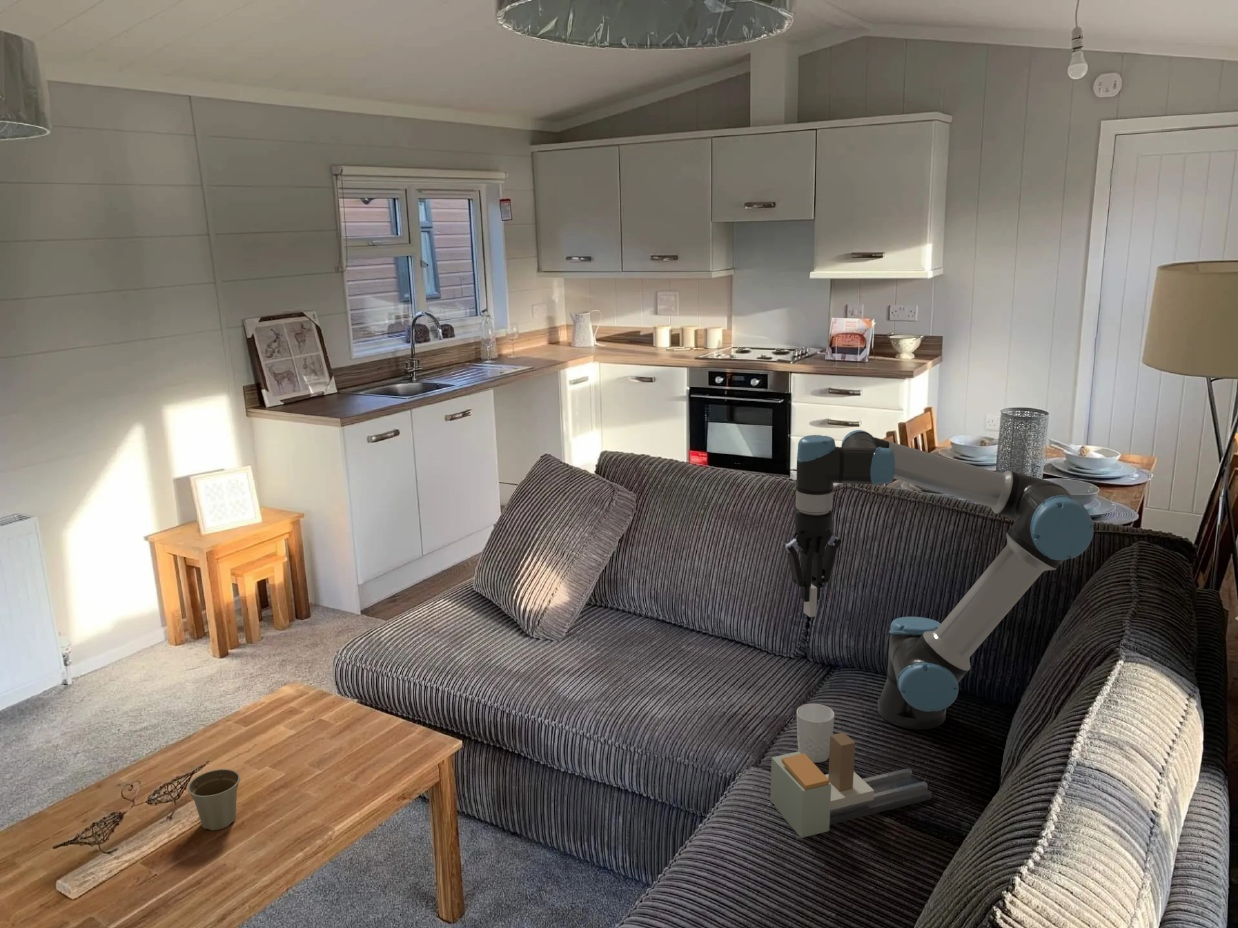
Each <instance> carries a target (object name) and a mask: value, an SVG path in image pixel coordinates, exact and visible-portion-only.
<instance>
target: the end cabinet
mask: <svg viewBox="0 0 1238 928" xmlns="http://www.w3.org/2000/svg"><path fill="white" fill-rule="evenodd" d="M799 754H801V753H800V752H799V751H798V750H797V751H795V752H790V753H785V754H781V755H776V756H772V757H771V760H770V761H771V765H770V766H771V767H770V771H771V772H770V801H771V802H772V803H773V804H774V805H775V807H776V808H777V809H778V810H777V809H776V808H775V807H774V808H775V809H776V810H777V812H778V811H779V812H780V813H781V814H782V815H781V814H780V813H779V812H778V813H779V814H780V815H781V816H782V817H783V818H784V820H785V821H786V822H787V823H788V825H789V826H790V827H791V828H792V829H793V830H794V832H795V833H796V834H797V835H798V836H799V837H800V839H803V838H806V837H810V836H811V837H812V836H814V835H817V834H823V833H826V832H829V831H830V825H829V824H830V802H831V783H830V782H829V784H826V785H822V786H818V787H814V788H809V789H805V788H804V787H803V786H802V785H801V784H800V783H799V782H798V780H797V779H796V778H795V777H794V776H793V775H792V773H791V772H790V771H789V770H788V769H787V768H786V767H785V765H784V764H783V763H782V758H785V757H790V756H794V755H799ZM771 802H770V803H771Z"/></svg>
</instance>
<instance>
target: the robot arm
mask: <svg viewBox="0 0 1238 928" xmlns="http://www.w3.org/2000/svg"><path fill="white" fill-rule="evenodd" d="M841 441H842V442H841V444H840V445H841V446H837V445H836V441H835V438H834V437H831V436H830V435H829V436H828V435H821V434H810V435H805V436H803V437H801V438H800V439H799V441H798V443H797V453H796V487H795V508H796V510H795V511H794V512H795V515H794V517H795V518H794V527H795V531H794V534H793V539H792V540H790V542H784V543H783V546H782V547H783V548H784V551H786V553H787V558H788V563H789V569H790V573H791V578H792V582H793V583H794V584H795V585H797V587H800V588H801V590H800V591H801V592H800V599H801V601H803V614H805V615H806V616H808V617H809V618H812V617H813V618H814V617H817V607H818V606H817V602H818V601H819V600H820V598H821V589H823V587H824V583H826V584H827V583H829V582H830V579H831V574H832V572H833V571H832V570H833V567H834V563H835V559H836V555H837V551H838V549H839V547H840V546H841V543H842V539H840V538H839V537H838V536H834V535H833V532H832V530H831V528H832V523H833V512H832V511H831V510H832V509H833V504H834V503H833V500H834V499H833V498H834V497H833V495H834V494H833V493H834V492H833V491H834V484H851V485H854V484H856V485H872V486H877V485H879V486H881V485H890V484H892V483H893V482H894V480H898V481H901V482H904V483H907V484H910V485H914V486H918V487H921V488H925V489H928V490H932V491H933V492H939V493H942V494H944V495H949V496H951V497H956V498H957V499H958V498H959V499H962V500H966V501H970V502H972V503H976V504H980V505H982V506H986V507H990V508H991V510H992V512H993V513H994V514H997V515H1000V516H1003V517H1006V518H1008V519H1010V520H1011V521H1014V524H1013V525H1012V526H1011V527H1010V528H1009V530H1007V531H1006V534H1005V535H1006V542H1007V543H1006V545H1005V546H1004V548H1003V549H1002V550H1001V551H1000V553H999V554H998V555H997V556H996V557H995V558H994V560H993V561H992V562H991V563H990V564H989V566H988V567H987V568H986V569H985V571H984V572H983V573H982V574H981V575H980V576H979V578H978V579H977V580H976V582H974V584H973V585H972V586H971V587H970V589H968V591H967V592H966V593H965V595H964V596H963V597H962V598H961V600H960V601H959V602H958V603H957V605H956V606H955V607H954V608H953V609H952V610H951V611H950V612H949V614H948V615H947V616H946V617H945V619H944V620H943V621H942V622H941V623H940V622H939V621H937V620H934V619H931V618H927V617H920V616H902V617H897V618H895V619H894V620H892V621H891V624H890V627H889V628H890V629H889V631H888V633H889V642H888V643H889V644H888V645H889V646H888V662H887V675H886V676H887V677H886V682H885V683H884V686H883V689H882V691H881V694H879V697H878V700H877V712H878V714H879V715H880V717H881V718H882V719H884V720H885V721H886V722H888V723H890V724H892V725H894V726H897V727H901V728H904V729H910V730H929V729H934V728H937V727H939V726H941V725H942V724H944V722H945V721H946V717H947V716H946V714H947V708H949V707H950V706H951V705H953V703H954V702H955V701H956V699H957V698H958V694H959V690H960V689H959V688H960V686H959V682H960V681H961V680H962V679H963V678H964V677H965V675H966V674H967V673H968V672H969V670H970V669H971V662H970V658H971V656H972V655H973V654H974V653H975V652H976V651H977V649H978V648H979V647H980V645H982V644H983V642H984V641H985V640H986V639H987V638H988V636H990V634H991V633H992V632H993V631H994V630H995V628H996V627H997V626H998V625H999V624H1000V622H1001V621H1002V620H1003V619H1004V617H1006V615H1007V614H1008V613H1009V612H1010V611H1011V610H1012V608H1013V607H1014V606H1015V605H1016V604H1017V603H1018V601H1019V600H1021V598H1022V597H1023V596H1024V595H1025V593H1026V592H1027V591H1028V590H1029V588H1030V587H1031V586H1032V585H1034V583H1035V582H1036V581H1037V580H1038V579H1039V577H1040V576H1041V575H1042V573H1044V572H1046V571H1054V570H1055V571H1056V569H1058V567H1059V566H1060V565H1061V564H1062V563H1063V562H1064V561H1066V560H1069V559H1071V560H1072V559H1074V558H1077V557H1079V555H1081V554H1083V553H1084V552H1085V551H1086V550H1087V548H1088V547H1089V546H1090V545H1091V542H1092V540H1093V536H1094V522H1093V520H1092V517H1091V515H1090V513H1089V512H1088V511H1089V510H1087V508H1086V507H1085V506H1084V505H1083V504H1082V503H1081V502H1080V501H1079V500H1078V499H1077V498H1076V497H1074V496H1073V495H1072V494H1071V493H1070V492H1069V491H1068V490H1067V489H1066V488H1065V487H1063V486H1062V485H1061V484H1058V483H1055V482H1054V481H1050V480H1047V479H1043V478H1039V477H1035V476H1031V475H1028V474H1022V473H1019V472H1016V471H1011V470H1006V471H1004V472H1002V473H1001V472H998V471H994V470H991V469H987V468H984V467H979V466H976V465H972V464H970V463H966V462H962V461H959V460H955V459H952V458H948V457H945V456H942V455H937V454H934V453H932V452H927V451H925V450H920V449H917V448H913V447H910V446H907V445H902V444H900V443H896V442H892V441H887V440H885V439H882V438H878V437H875V436H873V434H870V433H869V432H868V431H866V430H862V429H856V430H855V429H854V430H852V431H850V432H848V433H847V434H846V435H845V436H844V438H843V439H842V440H841ZM798 547H799V549H800V551H799V550H798ZM798 551H799V552H800V559H799V554H798Z"/></svg>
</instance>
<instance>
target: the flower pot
mask: <svg viewBox="0 0 1238 928" xmlns="http://www.w3.org/2000/svg"><path fill="white" fill-rule="evenodd" d="M240 781H241V774H240V773H239V772H238V771H236V770H234V769H231V768H219V769H218V768H217V769H213V770H209V771H205V772H203V773H200V774H199V775H197V776H196V777H194V778H193V779H191V781H189V783H188V785H187V792H188V793H189V795H190V796H191V799H192V800H193V801H194V803H195V807H196V810H197V813H198V814H197V815H198V816H199V821H200V824H201V827H202V828H203V829H205V830H206V829H207V830H210V831H219V830H221V829H225V828H227V827H229V826H230V824H232V823H233V822H235V820H236V819H237V796H238V795H237V794H238V789H239V783H240Z"/></svg>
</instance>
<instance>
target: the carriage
mask: <svg viewBox="0 0 1238 928" xmlns="http://www.w3.org/2000/svg"><path fill="white" fill-rule="evenodd" d="M855 749H856V742H855V741H854V740H853V739H852V738H851V737H850V736H848V735H847V733H845V732H840V733H839V732H838V733H835V734H834V733H833V735H830V753H829V758H828V773H827V774H824V775H825V776H826V777H827V778H828V779H829V782H830V783H831V802H830V810H834V809H838V808H842V807H846V806H850V805H854V804H858V803H862V802H866V801H870V800H874V790H873V789H872V788H871V787H870V786H869V785H868V784H867V783H866V782H865V781H864V780H863V778H862V777H860V775H858V774H857V772H855V754H856V750H855Z"/></svg>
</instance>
